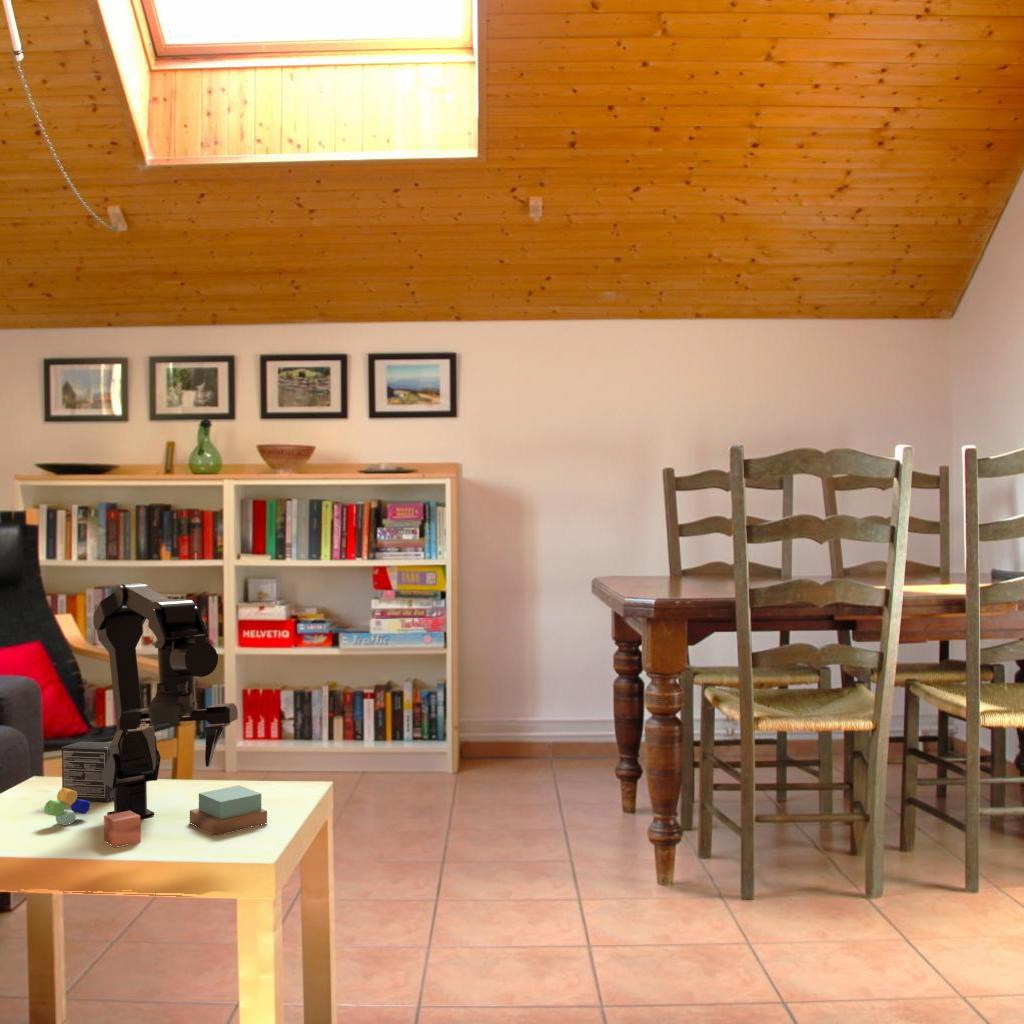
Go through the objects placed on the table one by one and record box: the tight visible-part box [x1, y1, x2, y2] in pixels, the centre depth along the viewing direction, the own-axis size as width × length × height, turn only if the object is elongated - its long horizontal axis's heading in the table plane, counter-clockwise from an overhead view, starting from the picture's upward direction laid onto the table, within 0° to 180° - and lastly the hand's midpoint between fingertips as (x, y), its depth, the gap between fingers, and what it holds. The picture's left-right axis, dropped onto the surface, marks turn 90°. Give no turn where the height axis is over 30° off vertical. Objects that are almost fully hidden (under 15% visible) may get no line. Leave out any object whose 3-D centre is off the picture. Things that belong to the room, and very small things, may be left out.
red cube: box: [103, 811, 142, 848], centre depth 178 cm, size 4×4×4 cm
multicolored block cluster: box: [43, 788, 91, 825], centre depth 189 cm, size 8×3×6 cm, turn 145°
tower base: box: [189, 807, 268, 836], centre depth 188 cm, size 10×10×3 cm
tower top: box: [198, 785, 262, 819], centre depth 188 cm, size 8×8×3 cm
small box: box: [61, 741, 114, 803], centre depth 206 cm, size 11×6×10 cm, turn 77°
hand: (180, 768), depth 176 cm, fingers open, 9 cm apart
